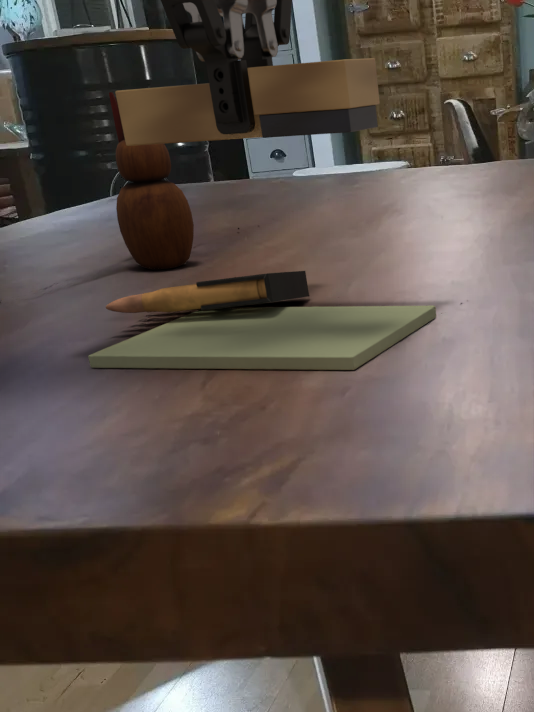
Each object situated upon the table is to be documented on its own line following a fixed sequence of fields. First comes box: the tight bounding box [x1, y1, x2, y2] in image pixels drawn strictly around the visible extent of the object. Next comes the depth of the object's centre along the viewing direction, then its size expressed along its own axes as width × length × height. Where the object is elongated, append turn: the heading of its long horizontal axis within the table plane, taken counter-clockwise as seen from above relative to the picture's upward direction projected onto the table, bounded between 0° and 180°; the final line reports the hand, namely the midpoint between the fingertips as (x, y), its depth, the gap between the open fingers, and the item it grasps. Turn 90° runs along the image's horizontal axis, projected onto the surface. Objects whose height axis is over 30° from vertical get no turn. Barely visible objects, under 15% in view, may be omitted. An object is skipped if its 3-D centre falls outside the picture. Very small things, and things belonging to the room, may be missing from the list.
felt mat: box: [87, 305, 437, 371], centre depth 71 cm, size 18×14×1 cm
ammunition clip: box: [105, 270, 310, 314], centre depth 79 cm, size 11×2×12 cm
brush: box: [114, 57, 381, 146], centre depth 65 cm, size 16×4×4 cm, turn 72°
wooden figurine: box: [108, 91, 195, 271], centre depth 101 cm, size 7×6×15 cm
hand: (250, 129), depth 65 cm, fingers closed on brush, 2 cm apart
